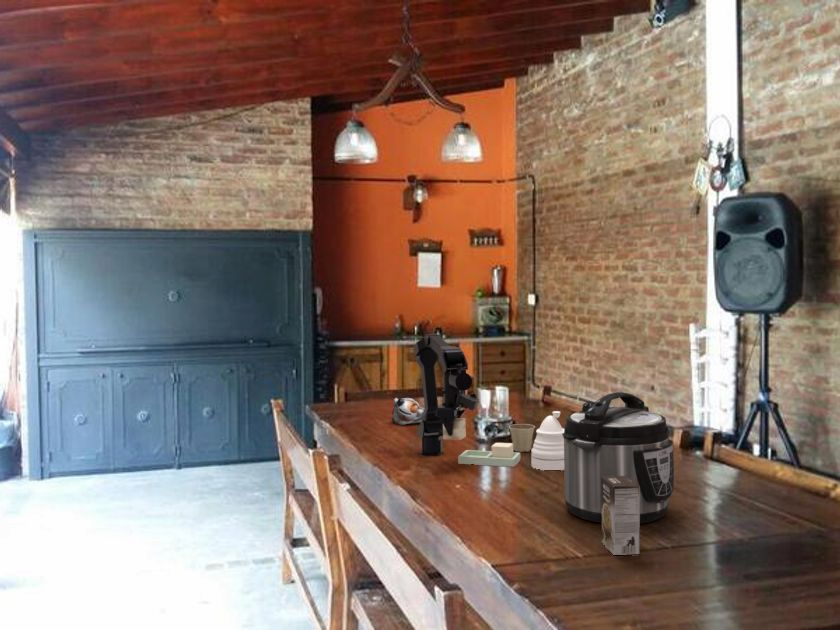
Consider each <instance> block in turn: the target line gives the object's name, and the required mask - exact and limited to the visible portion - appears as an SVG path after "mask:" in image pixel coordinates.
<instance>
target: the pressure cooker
mask: <svg viewBox="0 0 840 630" xmlns="http://www.w3.org/2000/svg"><path fill="white" fill-rule="evenodd" d="M616 399H621V401H622V402H623V404H624V406H615V407H614V406H613V407H610V406H611V403H612V401H613V400H616ZM666 419H667V418H666V417H665V416H664V415H661V414H659V413H655V412H651V411H650V409H649V406H646V405H645V401H643V400H642V399H641V398H640V397H638V396H636V395H633V394H631V393H628V392H621V391H620V392H612V393H608V394H606V395H603V396H601V397H600V398H599V399H597V400H596V401H595V402H594V401H586V402H584V403H583V404H582V408H581V410H580V411H576V412H572V413H570V414H568V415H567V416H566V419H565V420H566V424H564V425H563V426H564V427H563V429H564V433H562V435H563V438H564V470H563V471H564V475H563V477H564V501H565V504H566V506H567V508H568V510H569V511H570V513H571V514H573V515H574V516H576V517H578V518H580V519H583V520H587V521H591V522H596V523H601V524H602V507H601V477H602V476H627V477H629V478H630V479H631V480H633V481H634V482H635V483H637V484H638V485H639V486H640V524H645V523H650V522H653V521H656V520H659V519H661V518H662V517H664V516H665V515H666V513H667V512H668V508H669V505H670V498H671V495H672V493H673V491H674V488H675V487H674V486H675V483H674V482H675V469H674V468H675V464H674V463H675V460H674V441H673V440H672V439H670V435H669V433H670V432H669V427H668V426H667V420H666Z"/></svg>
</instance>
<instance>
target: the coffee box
mask: <svg viewBox="0 0 840 630" xmlns="http://www.w3.org/2000/svg"><path fill="white" fill-rule="evenodd" d="M601 507H602V523H601V543H603V544H602V545H603V546H604V545H605V546H604V547H605V549H606V550H607V551H608V550H609V551H610V552H611V553H612V554H613V555H626V554H640V551H641V550H640V537H641V536H640V535H641V534H640V532H641V531H640V524H641V523H640V486H639V485H638V484H637V483H635V482H634V481H633V480H631V479H630V478H629V477H627V476H602V477H601ZM610 552H609V553H610ZM611 553H610V554H611ZM612 554H611V555H612ZM613 555H612V556H613ZM640 555H641V554H640Z"/></svg>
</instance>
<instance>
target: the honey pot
mask: <svg viewBox="0 0 840 630" xmlns="http://www.w3.org/2000/svg"><path fill="white" fill-rule="evenodd" d="M551 414H552V415H548V416H546V417H545V418H544V419H543V421H542V422H541V424H540V427H539V428H537V429H536V431H535V432H536V436H535V439H534V440H533V441H534V443H533V444H532V447H531V451H530V452H531V457H530V458H531V460H530V461H531V462H530V463H531V467H532V468H533V469H535V468H536V469H535V470H538V469H540V470H539V471H544V470H561V471H564V438H563V435H562V433H564V427H562V425H561V423H560V422H559V420H558V418H560V416H561V411H558V410H557V411H556V410H555V411H552V413H551Z"/></svg>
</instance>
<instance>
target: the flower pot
mask: <svg viewBox="0 0 840 630" xmlns="http://www.w3.org/2000/svg"><path fill="white" fill-rule="evenodd" d="M535 428H536V426H535V425H533V424H529V423H516V424H510V425H509V426H508V429H509V432H510V435H511V441H512V442H511V443H513V451H515V452H516V453H523V452H531V451H530V450H532V446H533V444H532V443H533V435H534V431H535Z"/></svg>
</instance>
